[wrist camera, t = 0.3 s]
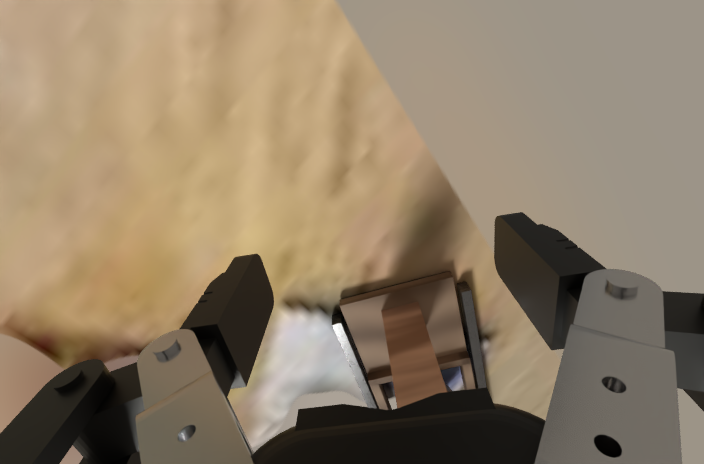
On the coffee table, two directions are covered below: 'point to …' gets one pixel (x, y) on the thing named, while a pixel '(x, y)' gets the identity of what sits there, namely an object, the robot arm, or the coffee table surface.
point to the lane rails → (471, 335)
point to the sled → (409, 337)
